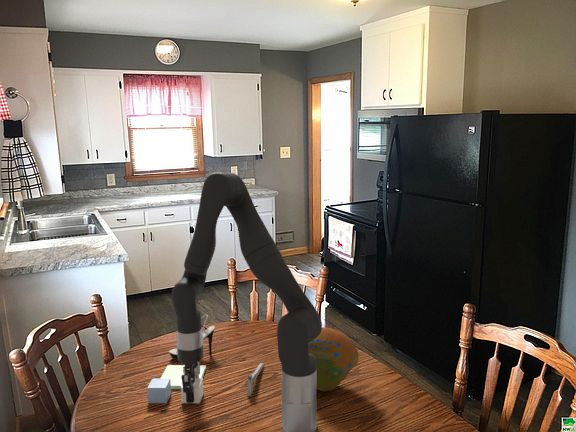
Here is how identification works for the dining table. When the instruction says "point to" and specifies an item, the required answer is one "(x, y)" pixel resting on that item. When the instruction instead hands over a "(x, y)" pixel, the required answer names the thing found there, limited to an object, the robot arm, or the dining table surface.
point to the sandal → (206, 334)
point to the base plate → (178, 374)
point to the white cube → (197, 391)
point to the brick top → (159, 390)
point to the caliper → (253, 379)
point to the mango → (332, 357)
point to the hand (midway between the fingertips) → (192, 396)
